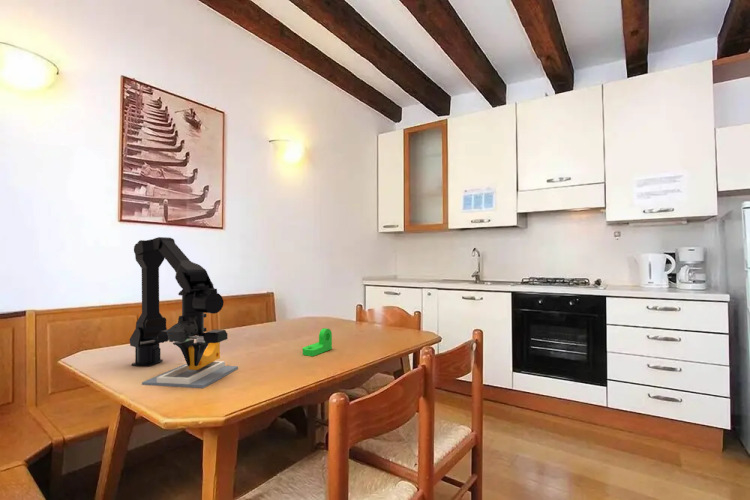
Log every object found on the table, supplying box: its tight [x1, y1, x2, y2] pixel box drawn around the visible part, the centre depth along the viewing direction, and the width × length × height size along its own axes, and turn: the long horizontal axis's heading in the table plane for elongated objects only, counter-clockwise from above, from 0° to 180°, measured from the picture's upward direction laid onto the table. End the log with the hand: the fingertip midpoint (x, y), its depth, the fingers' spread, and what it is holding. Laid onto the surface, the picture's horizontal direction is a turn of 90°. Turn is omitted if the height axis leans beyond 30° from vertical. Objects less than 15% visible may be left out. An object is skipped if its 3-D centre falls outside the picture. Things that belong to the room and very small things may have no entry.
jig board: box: [141, 360, 239, 389], centre depth 112 cm, size 18×18×2 cm
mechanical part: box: [302, 327, 333, 357], centre depth 142 cm, size 12×6×8 cm, turn 153°
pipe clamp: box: [189, 342, 221, 370], centre depth 118 cm, size 12×4×6 cm, turn 171°
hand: (192, 365), depth 112 cm, fingers closed on pipe clamp, 2 cm apart
